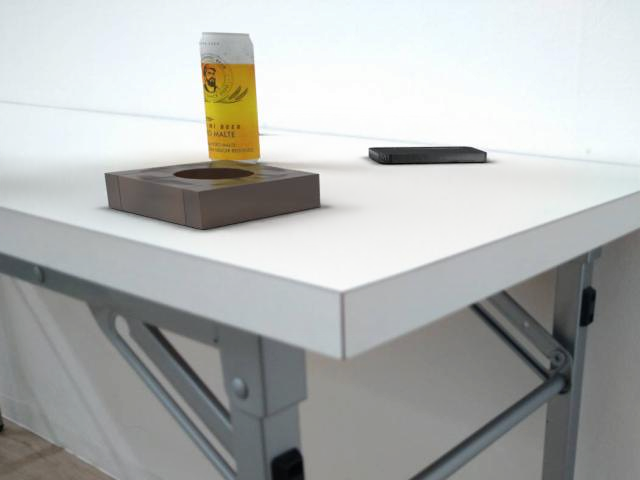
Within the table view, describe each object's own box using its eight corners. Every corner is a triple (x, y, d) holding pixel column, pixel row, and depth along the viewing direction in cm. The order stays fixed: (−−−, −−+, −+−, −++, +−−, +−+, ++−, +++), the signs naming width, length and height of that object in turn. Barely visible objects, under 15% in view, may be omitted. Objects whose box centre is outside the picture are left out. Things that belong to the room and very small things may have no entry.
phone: (366, 147, 101) (469, 146, 106) (366, 155, 101) (469, 154, 106) (380, 154, 94) (489, 152, 99) (380, 163, 94) (489, 161, 99)
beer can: (198, 164, 90) (186, 31, 85) (232, 159, 95) (223, 33, 90) (238, 169, 87) (228, 32, 82) (270, 163, 93) (263, 34, 87)
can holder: (108, 207, 65) (103, 172, 64) (228, 189, 75) (226, 159, 74) (202, 229, 58) (198, 191, 57) (320, 206, 68) (319, 173, 67)
